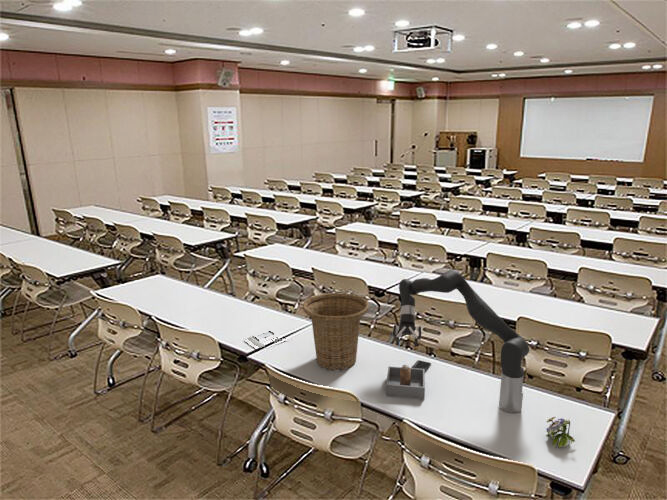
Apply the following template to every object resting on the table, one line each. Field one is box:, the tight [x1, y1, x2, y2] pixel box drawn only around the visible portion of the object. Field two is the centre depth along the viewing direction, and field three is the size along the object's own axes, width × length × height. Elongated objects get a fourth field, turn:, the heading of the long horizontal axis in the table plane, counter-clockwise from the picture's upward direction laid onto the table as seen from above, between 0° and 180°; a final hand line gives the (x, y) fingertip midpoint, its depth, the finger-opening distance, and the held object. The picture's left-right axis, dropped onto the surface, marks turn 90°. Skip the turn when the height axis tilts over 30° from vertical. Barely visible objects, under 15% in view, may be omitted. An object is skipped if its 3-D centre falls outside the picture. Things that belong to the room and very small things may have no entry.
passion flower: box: [545, 416, 576, 449], centre depth 196 cm, size 11×11×12 cm
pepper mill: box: [400, 364, 411, 386], centre depth 236 cm, size 5×5×10 cm
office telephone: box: [246, 336, 286, 348], centre depth 292 cm, size 23×3×20 cm
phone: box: [411, 360, 432, 374], centre depth 256 cm, size 8×1×15 cm
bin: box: [385, 365, 426, 400], centre depth 237 cm, size 18×18×6 cm
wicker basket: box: [302, 292, 370, 371], centre depth 261 cm, size 35×35×33 cm
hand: (406, 345), depth 243 cm, fingers open, 8 cm apart
